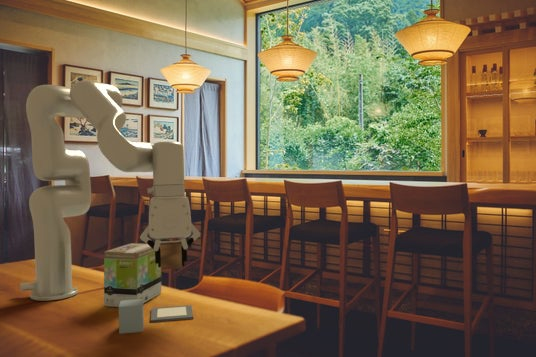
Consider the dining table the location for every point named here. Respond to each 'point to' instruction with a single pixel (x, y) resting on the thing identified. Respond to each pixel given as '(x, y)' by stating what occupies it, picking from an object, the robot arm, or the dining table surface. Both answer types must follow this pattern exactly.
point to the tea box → (130, 274)
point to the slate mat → (171, 313)
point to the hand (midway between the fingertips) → (171, 264)
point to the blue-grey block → (131, 316)
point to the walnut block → (171, 254)
